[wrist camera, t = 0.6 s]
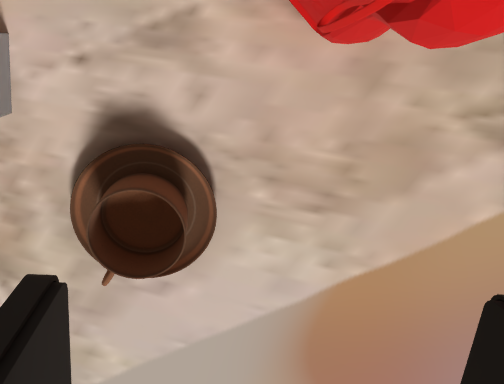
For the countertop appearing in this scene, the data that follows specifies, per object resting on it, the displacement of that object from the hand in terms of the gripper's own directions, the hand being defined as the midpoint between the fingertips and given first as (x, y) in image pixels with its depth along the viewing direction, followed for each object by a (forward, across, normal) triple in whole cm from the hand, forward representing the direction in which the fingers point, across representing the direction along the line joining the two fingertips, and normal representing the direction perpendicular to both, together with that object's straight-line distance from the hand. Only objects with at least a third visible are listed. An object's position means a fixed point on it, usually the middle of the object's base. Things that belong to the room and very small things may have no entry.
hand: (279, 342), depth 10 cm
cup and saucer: (+29, +7, +8) cm, 31 cm away
